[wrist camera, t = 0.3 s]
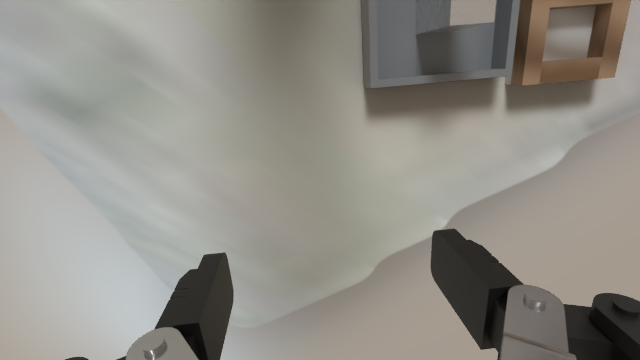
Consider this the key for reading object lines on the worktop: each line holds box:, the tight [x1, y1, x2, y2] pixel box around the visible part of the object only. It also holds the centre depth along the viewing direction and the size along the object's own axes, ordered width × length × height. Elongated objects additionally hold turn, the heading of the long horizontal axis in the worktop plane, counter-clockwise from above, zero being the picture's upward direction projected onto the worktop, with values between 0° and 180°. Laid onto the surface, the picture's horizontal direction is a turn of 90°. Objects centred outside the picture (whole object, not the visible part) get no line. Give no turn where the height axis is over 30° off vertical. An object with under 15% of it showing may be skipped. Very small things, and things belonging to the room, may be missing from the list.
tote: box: [361, 0, 520, 88], centre depth 34 cm, size 16×16×4 cm
